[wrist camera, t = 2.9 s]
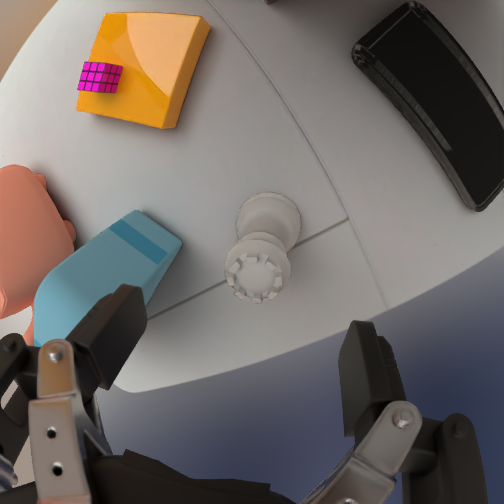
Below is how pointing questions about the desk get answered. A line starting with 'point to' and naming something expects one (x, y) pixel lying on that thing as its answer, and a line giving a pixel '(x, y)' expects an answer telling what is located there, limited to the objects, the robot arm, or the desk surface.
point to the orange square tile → (142, 66)
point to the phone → (439, 98)
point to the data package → (102, 273)
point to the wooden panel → (269, 1)
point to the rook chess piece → (262, 246)
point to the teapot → (28, 240)
